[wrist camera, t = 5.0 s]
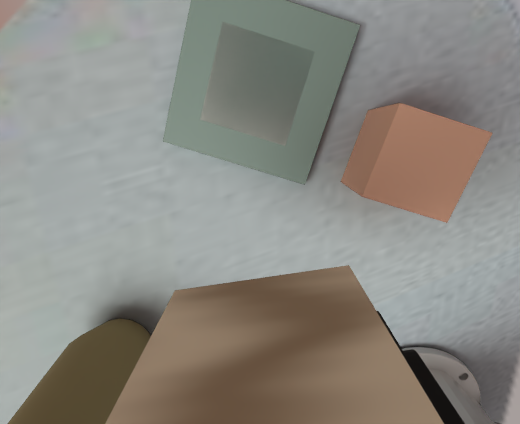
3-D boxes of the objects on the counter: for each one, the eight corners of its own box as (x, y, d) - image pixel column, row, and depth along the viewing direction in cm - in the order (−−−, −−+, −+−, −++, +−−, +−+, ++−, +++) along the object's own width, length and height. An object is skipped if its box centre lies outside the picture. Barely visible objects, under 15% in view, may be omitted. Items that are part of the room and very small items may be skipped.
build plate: (356, 30, 21) (360, 25, 20) (303, 182, 25) (304, 184, 24) (200, -23, 21) (197, -30, 20) (166, 140, 24) (162, 141, 23)
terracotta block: (437, 132, 23) (492, 132, 18) (406, 201, 25) (447, 222, 19) (367, 110, 23) (400, 102, 17) (340, 181, 25) (361, 196, 19)
